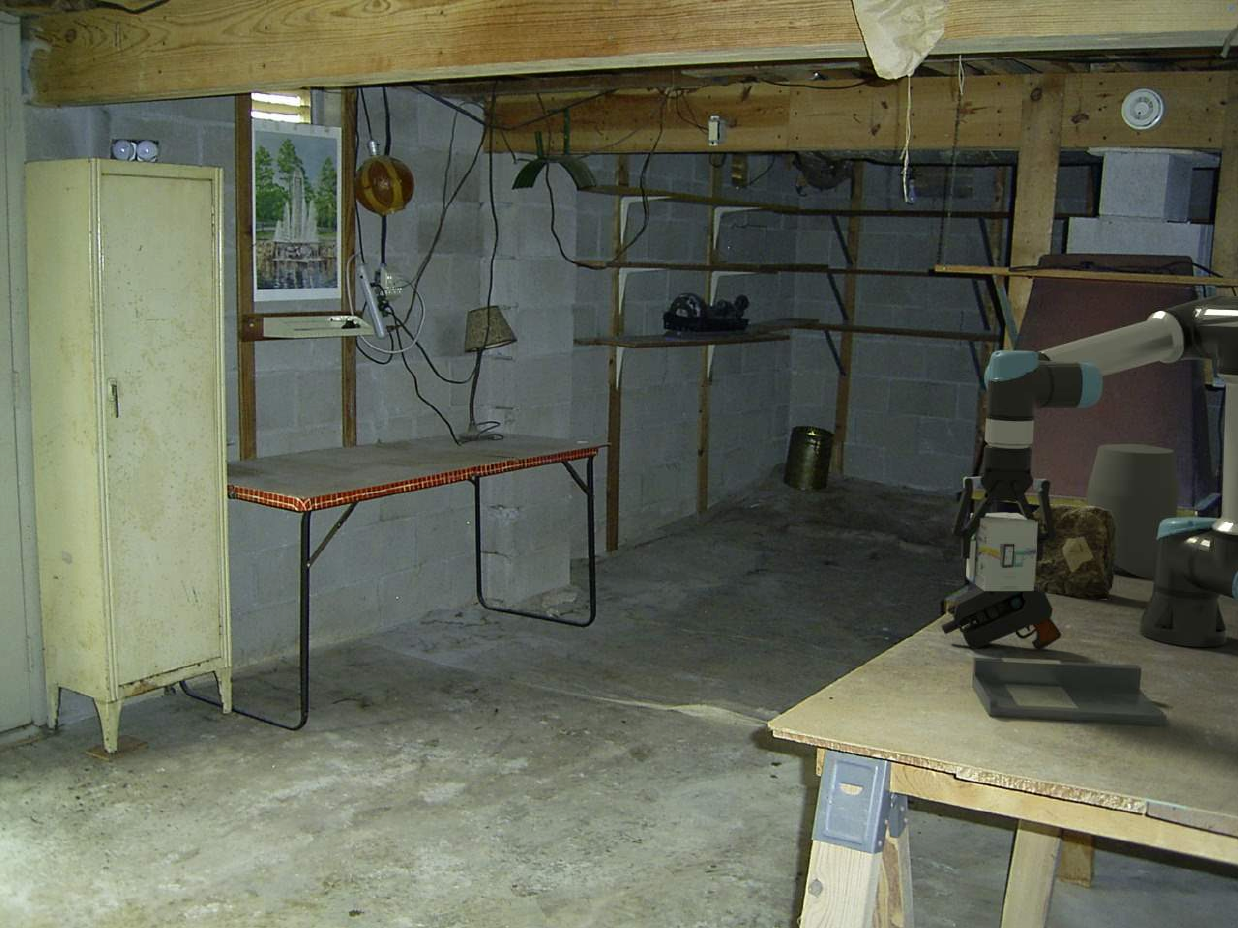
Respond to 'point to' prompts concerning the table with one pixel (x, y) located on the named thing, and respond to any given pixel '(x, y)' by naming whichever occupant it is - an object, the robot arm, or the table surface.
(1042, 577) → the stone block
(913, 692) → the table surface
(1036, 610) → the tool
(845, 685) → the table surface
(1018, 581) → the ink box
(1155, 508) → the grey tapered cylinder
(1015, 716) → the tray
